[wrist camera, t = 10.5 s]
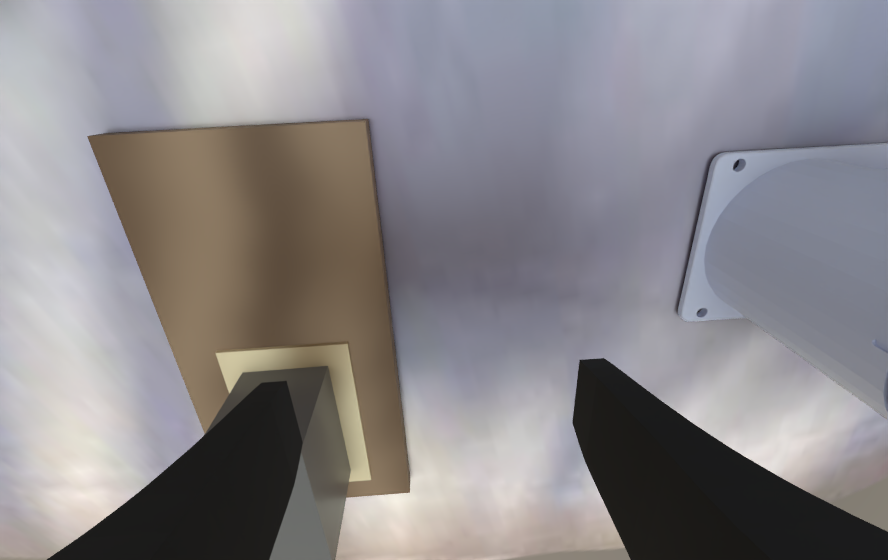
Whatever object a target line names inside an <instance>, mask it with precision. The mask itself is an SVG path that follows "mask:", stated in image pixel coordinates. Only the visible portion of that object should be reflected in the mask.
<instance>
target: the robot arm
mask: <svg viewBox="0 0 888 560" xmlns="http://www.w3.org/2000/svg"><path fill="white" fill-rule="evenodd" d="M738 159H739V165H738V167H736V168H735V169H733V165H734V163H735V162H736V161H737V160H738ZM701 308H702V310H701V311H700V312H699V313H697V312H698V310H699V309H701ZM678 315H679V317H680V318H681V319H682V320H684V321H686V322H694V321H708V320H723V319H737V318H747V319H749V320H750V321H751V322H753V323H754V324H756V325H757V326H758V327H760V328H761V329H763V330H764V331H765V332H767V333H768V334H769V335H771V336H772V337H774V338H775V339H776V340H778V341H779V342H781V343H782V344H783V345H785V346H786V347H787V348H789V349H790V350H792V351H793V352H794V353H796V354H797V355H799V356H800V357H801V358H803V359H804V360H805V361H807V362H808V363H810V364H811V365H812V366H814V367H815V368H817V369H818V370H819V371H821V372H822V373H823V374H825V375H826V376H828V377H829V378H830V379H832V380H833V381H835V382H836V383H837V384H839V385H840V386H841V387H843V388H844V389H846V390H847V391H848V392H850V393H851V394H852V395H854V396H855V397H857V398H858V399H859V400H861V401H862V402H864V403H865V404H866V405H868V406H869V407H870V408H872V409H873V410H875V411H876V412H877V413H879V414H880V415H882V416H883V417H884V418H886V419H887V420H888V143H875V144H858V145H840V146H823V147H806V148H788V149H771V150H754V151H736V152H724V153H720V154H718V155H717V156H716V157H715V158H714V159H713V160H712V162H711V165H710V169H709V173H708V178H707V182H706V187H705V191H704V196H703V200H702V204H701V209H700V213H699V218H698V222H697V227H696V231H695V236H694V240H693V245H692V249H691V254H690V258H689V263H688V267H687V272H686V276H685V280H684V285H683V289H682V294H681V298H680V303H679V307H678ZM573 426H574V429H575V432H576V435H577V438H578V442H579V445H580V448H581V451H582V454H583V457H584V459H585V462H586V464H587V467H588V469H589V471H590V473H591V475H592V478H593V480H594V482H595V484H596V486H597V488H598V491H599V493H600V495H601V497H602V499H603V501H604V503H605V506H606V508H607V510H608V512H609V514H610V516H611V518H612V520H613V523H614V525H615V527H616V529H617V531H618V533H619V535H620V537H621V540H622V542H623V544H624V546H625V548H626V550H627V552H628V554H629V557H630V559H631V560H888V532H887V531H885V530H882V529H880V528H879V527H876V526H874V525H872V524H870V523H868V522H866V521H864V520H862V519H860V518H857V517H855V516H853V515H851V514H849V513H847V512H846V511H844V510H841V509H840V508H837V507H836V506H833V505H832V504H830V503H828V502H826V501H824V500H822V499H820V498H818V497H816V496H814V495H812V494H810V493H808V492H806V491H804V490H802V489H801V488H799V487H797V486H795V485H793V484H791V483H789V482H788V481H786V480H784V479H782V478H780V477H779V476H777V475H775V474H774V473H772V472H770V471H768V470H767V469H765V468H763V467H761V466H760V465H758V464H756V463H754V462H753V461H751V460H749V459H748V458H746V457H744V456H743V455H741V454H739V453H738V452H736V451H734V450H733V449H731V448H730V447H728V446H726V445H725V444H723V443H722V442H720V441H719V440H717V439H716V438H714V437H713V436H711V435H710V434H708V433H707V432H705V431H704V430H702V429H700V428H699V427H697V426H696V425H695V424H693V423H692V422H690V421H689V420H687V419H686V418H684V417H683V416H682V415H680V414H679V413H677V412H676V411H675V410H673V409H672V408H670V407H669V406H668V405H666V404H665V403H663V402H662V401H661V400H659V399H658V398H657V397H655V396H654V395H653V394H651V393H650V392H649V391H647V390H646V389H645V388H643V387H642V386H641V385H639V384H638V383H637V382H635V381H634V380H633V379H631V378H630V377H629V376H627V375H626V374H625V373H623V372H622V371H621V370H619V369H618V368H617V367H615V366H614V365H613V364H611V363H610V362H609V361H607V360H606V359H604V358H602V359H588V360H580V362H579V371H578V379H577V388H576V397H575V406H574V414H573ZM302 445H303V441H302V437H301V434H300V430H299V426H298V422H297V418H296V415H295V411H294V407H293V403H292V399H291V395H290V392H289V388H288V384H287V381H277V382H263V383H260V384H259V385H258V386H257V387H256V388H255V389H254V390H253V391H251V392H250V393H249V394H248V395H247V396H246V397H245V398H244V399H243V400H242V401H241V402H240V403H239V404H238V405H237V406H235V407H234V408H233V409H232V410H231V411H230V412H229V413H228V414H227V415H226V416H225V417H224V418H223V419H222V420H221V421H220V422H219V423H217V424H216V425H215V426H214V427H213V428H212V429H211V430H210V431H209V432H208V433H207V434H206V435H204V436H203V437H202V438H201V439H200V440H199V441H198V442H197V443H196V444H195V445H194V446H193V447H191V448H190V449H189V450H188V451H187V452H186V453H184V454H183V455H182V456H181V457H180V458H179V459H178V460H176V461H175V462H174V463H173V464H172V465H171V466H169V467H168V468H167V469H166V470H165V471H164V472H162V473H161V474H160V475H159V476H158V477H157V478H155V479H154V480H153V481H152V482H151V483H150V484H148V485H147V486H146V487H145V488H144V489H142V490H141V491H140V492H139V493H137V494H136V495H135V496H134V497H132V498H131V499H130V500H128V501H127V502H126V503H125V504H123V505H122V506H121V507H120V508H118V509H117V510H116V511H114V512H113V513H112V514H110V515H109V516H108V517H106V518H105V519H104V520H102V521H101V522H100V523H98V524H97V525H96V526H94V527H93V528H92V529H90V530H89V531H87V532H86V533H85V534H83V535H82V536H81V537H79V538H78V539H76V540H75V541H73V542H72V543H70V544H69V545H68V546H66V547H65V548H63V549H62V550H60V551H59V552H57V553H56V554H54V555H53V556H51V557H50V558H48V559H47V560H269V559H270V556H271V553H272V550H273V547H274V544H275V541H276V538H277V535H278V533H279V530H280V527H281V524H282V521H283V518H284V515H285V512H286V509H287V506H288V503H289V500H290V497H291V494H292V490H293V487H294V484H295V480H296V475H297V470H298V466H299V461H300V456H301V450H302Z"/></svg>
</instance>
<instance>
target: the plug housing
mask: <svg viewBox="0 0 888 560" xmlns="http://www.w3.org/2000/svg"><path fill="white" fill-rule="evenodd" d="M277 381H287V384H288V388H289V392H290V395H291V399H292V403H293V407H294V411H295V415H296V418H297V422H298V426H299V430H300V434H301V437H302V441H303V445H302V450H301V456H300V461H299V466H298V470H297V475H296V480H295V484H294V487H293V490H292V494H291V497H290V500H289V503H288V506H287V509H286V512H285V515H284V518H283V521H282V524H281V527H280V530H279V533H278V535H277V538H276V541H275V544H274V547H273V550H272V553H271V556H270V559H269V560H335V557H336V552H337V546H338V541H339V535H340V529H341V524H342V518H343V512H344V507H345V501H346V495H347V490H348V484H349V478H350V473H351V469H350V464H349V459H348V455H347V450H346V446H345V441H344V437H343V432H342V427H341V423H340V418H339V414H338V409H337V405H336V400H335V395H334V391H333V386H332V382H331V377H330V373H329V368H328V366H319V367H306V368H294V369H281V370H268V371H256V372H243V373H242V374H241V376H240V377H239V379H238V381H237V382H236V384H235V386H234V387H233V389H232V390H231V392H230V394H229V395H228V397H227V399H226V400H225V402H224V404H223V405H222V407H221V408H220V410H219V412H218V413H217V415H216V417H215V418H214V420H213V422H212V423H211V425H210V427H209V428H208V430H207V431H206V433H205V435H206V434H207V433H208V432H209V431H210V430H211V429H212V428H213V427H214V426H215V425H216V424H217V423H219V422H220V421H221V420H222V419H223V418H224V417H225V416H226V415H227V414H228V413H229V412H230V411H231V410H232V409H233V408H234V407H235V406H237V405H238V404H239V403H240V402H241V401H242V400H243V399H244V398H245V397H246V396H247V395H248V394H249V393H250V392H251V391H253V390H254V389H255V388H256V387H257V386H258V385H259V384H260V383H263V382H277Z"/></svg>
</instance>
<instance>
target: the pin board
mask: <svg viewBox="0 0 888 560" xmlns="http://www.w3.org/2000/svg"><path fill="white" fill-rule="evenodd" d="M87 137H88V139H89V142H90V144H91V147H92V149H93V152H94V154H95V157H96V159H97V162H98V165H99V167H100V170H101V172H102V175H103V177H104V180H105V182H106V185H107V187H108V190H109V192H110V195H111V197H112V200H113V202H114V205H115V208H116V210H117V213H118V215H119V218H120V220H121V223H122V225H123V228H124V230H125V233H126V235H127V238H128V240H129V243H130V246H131V248H132V251H133V253H134V256H135V258H136V261H137V263H138V266H139V268H140V271H141V273H142V276H143V278H144V281H145V284H146V286H147V289H148V291H149V294H150V296H151V299H152V301H153V304H154V306H155V309H156V311H157V314H158V316H159V319H160V321H161V324H162V327H163V329H164V332H165V334H166V337H167V339H168V342H169V344H170V347H171V349H172V352H173V354H174V357H175V359H176V362H177V365H178V367H179V370H180V372H181V375H182V377H183V380H184V382H185V385H186V387H187V390H188V392H189V395H190V397H191V400H192V403H193V405H194V408H195V410H196V413H197V415H198V418H199V420H200V423H201V425H202V428H203V430H204V433H206V431H207V430H208V428H209V427H210V425H211V423H212V422H213V420H214V418H215V417H216V415H217V413H218V412H219V410H220V408H221V407H222V405H223V404H224V402H225V400H226V399H227V397H228V395H229V394H230V392H231V390H232V389H233V387H234V386H235V384H236V382H237V381H238V379H239V377H240V376H241V374H242V373H243V372H256V371H268V370H281V369H294V368H306V367H319V366H328V368H329V373H330V377H331V382H332V386H333V391H334V395H335V400H336V405H337V409H338V414H339V418H340V423H341V427H342V432H343V437H344V441H345V446H346V450H347V455H348V459H349V464H350V469H351V473H350V478H349V484H348V490H347V495H346V497H359V496H372V495H384V494H397V493H410V472H409V463H408V455H407V446H406V438H405V429H404V421H403V412H402V404H401V395H400V386H399V378H398V369H397V361H396V352H395V344H394V335H393V327H392V318H391V309H390V301H389V292H388V284H387V275H386V267H385V258H384V250H383V241H382V232H381V224H380V215H379V207H378V198H377V190H376V181H375V173H374V164H373V155H372V147H371V138H370V130H369V121H368V119H360V120H341V121H323V122H304V123H286V124H267V125H249V126H230V127H212V128H193V129H175V130H156V131H138V132H119V133H104V134H98V135H92V136H87Z"/></svg>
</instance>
